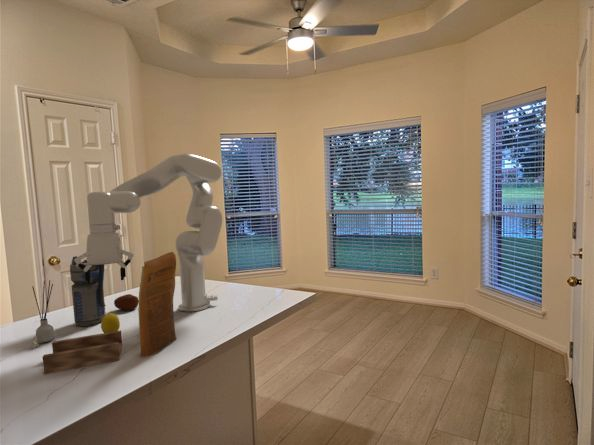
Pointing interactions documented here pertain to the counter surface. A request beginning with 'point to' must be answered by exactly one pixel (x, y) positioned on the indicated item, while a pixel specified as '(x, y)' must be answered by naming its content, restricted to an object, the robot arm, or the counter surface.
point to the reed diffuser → (43, 324)
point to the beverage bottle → (87, 294)
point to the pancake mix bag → (157, 304)
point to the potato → (126, 302)
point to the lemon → (110, 323)
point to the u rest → (83, 352)
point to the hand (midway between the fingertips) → (106, 281)
